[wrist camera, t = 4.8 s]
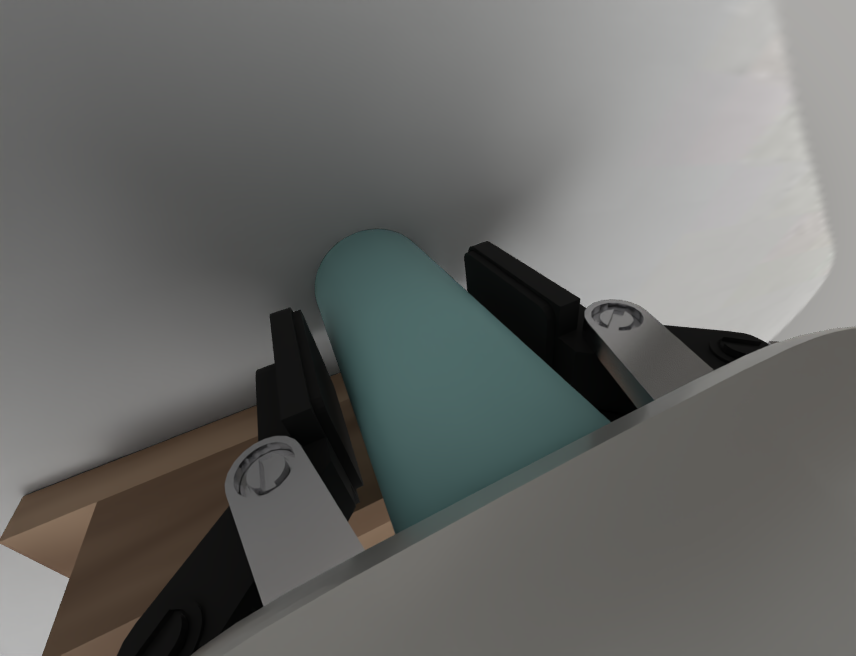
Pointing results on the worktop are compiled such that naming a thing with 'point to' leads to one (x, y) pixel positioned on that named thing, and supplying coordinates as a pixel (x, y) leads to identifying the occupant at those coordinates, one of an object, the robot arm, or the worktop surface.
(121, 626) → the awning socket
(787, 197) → the worktop surface
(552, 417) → the peg
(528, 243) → the worktop surface
